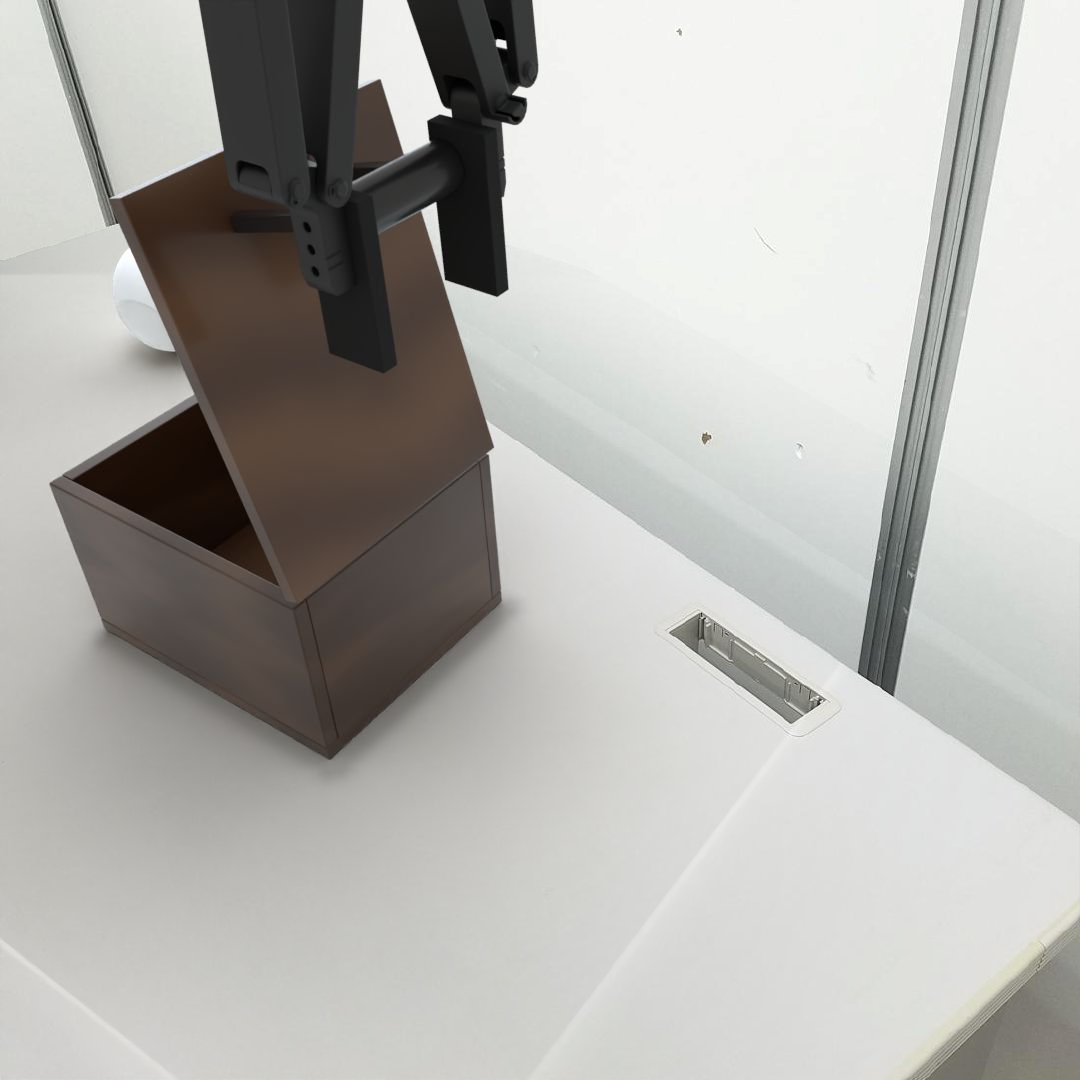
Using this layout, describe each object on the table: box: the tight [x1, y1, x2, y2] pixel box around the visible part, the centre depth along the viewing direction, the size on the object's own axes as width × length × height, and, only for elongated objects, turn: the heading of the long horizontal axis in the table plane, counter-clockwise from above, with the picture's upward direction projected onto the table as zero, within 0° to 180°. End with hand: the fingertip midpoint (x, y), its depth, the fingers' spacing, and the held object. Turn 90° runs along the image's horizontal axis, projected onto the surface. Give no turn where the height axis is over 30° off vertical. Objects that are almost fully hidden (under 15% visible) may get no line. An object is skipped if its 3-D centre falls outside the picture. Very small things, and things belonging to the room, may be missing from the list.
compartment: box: [48, 393, 503, 760], centre depth 64 cm, size 17×14×10 cm
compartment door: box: [107, 78, 495, 603], centre depth 50 cm, size 18×14×8 cm
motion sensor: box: [112, 247, 176, 352], centre depth 87 cm, size 8×8×8 cm
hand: (422, 319), depth 48 cm, fingers closed on compartment door, 6 cm apart
